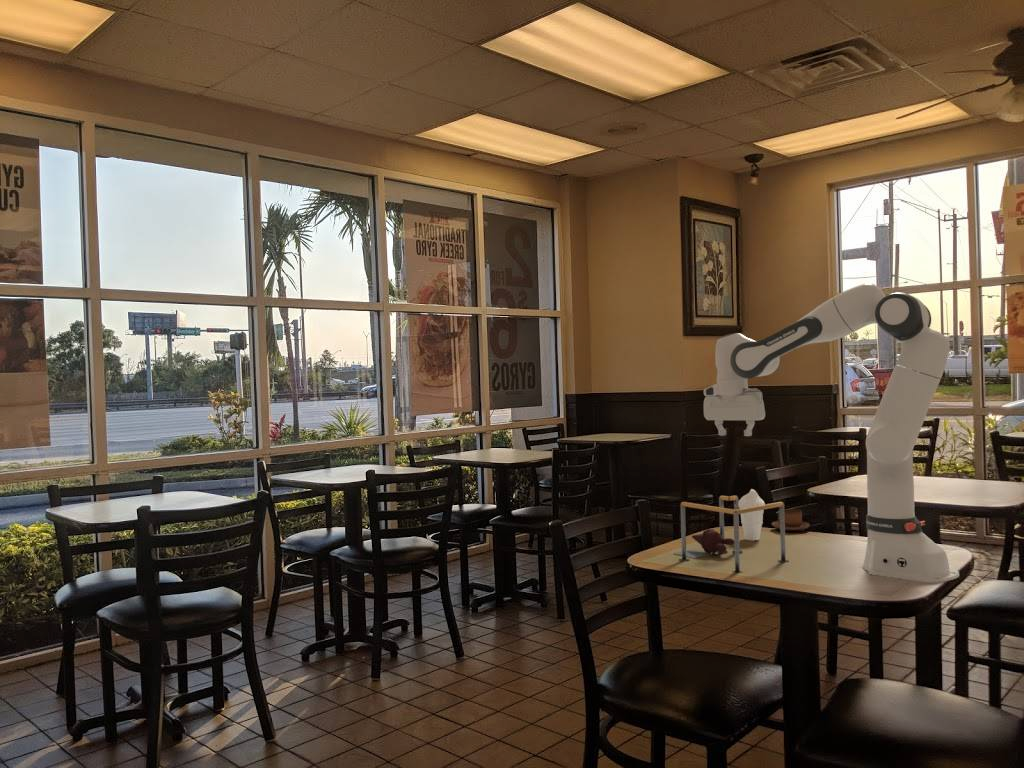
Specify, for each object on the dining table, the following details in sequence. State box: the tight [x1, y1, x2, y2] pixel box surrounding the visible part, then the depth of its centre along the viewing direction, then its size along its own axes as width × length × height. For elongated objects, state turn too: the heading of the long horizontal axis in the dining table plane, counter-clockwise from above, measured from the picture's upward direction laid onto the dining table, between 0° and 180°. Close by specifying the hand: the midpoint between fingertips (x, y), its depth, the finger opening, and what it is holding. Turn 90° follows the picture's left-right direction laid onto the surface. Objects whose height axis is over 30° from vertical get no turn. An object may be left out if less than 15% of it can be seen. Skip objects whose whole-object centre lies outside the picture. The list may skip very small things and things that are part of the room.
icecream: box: [691, 528, 734, 554], centre depth 234 cm, size 7×7×15 cm
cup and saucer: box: [771, 508, 811, 532], centre depth 267 cm, size 12×12×6 cm
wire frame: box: [678, 495, 789, 574], centre depth 223 cm, size 21×21×17 cm
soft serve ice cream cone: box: [738, 488, 766, 542], centre depth 253 cm, size 8×8×16 cm
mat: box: [673, 549, 714, 559], centre depth 234 cm, size 8×8×1 cm
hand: (735, 435), depth 236 cm, fingers open, 8 cm apart
